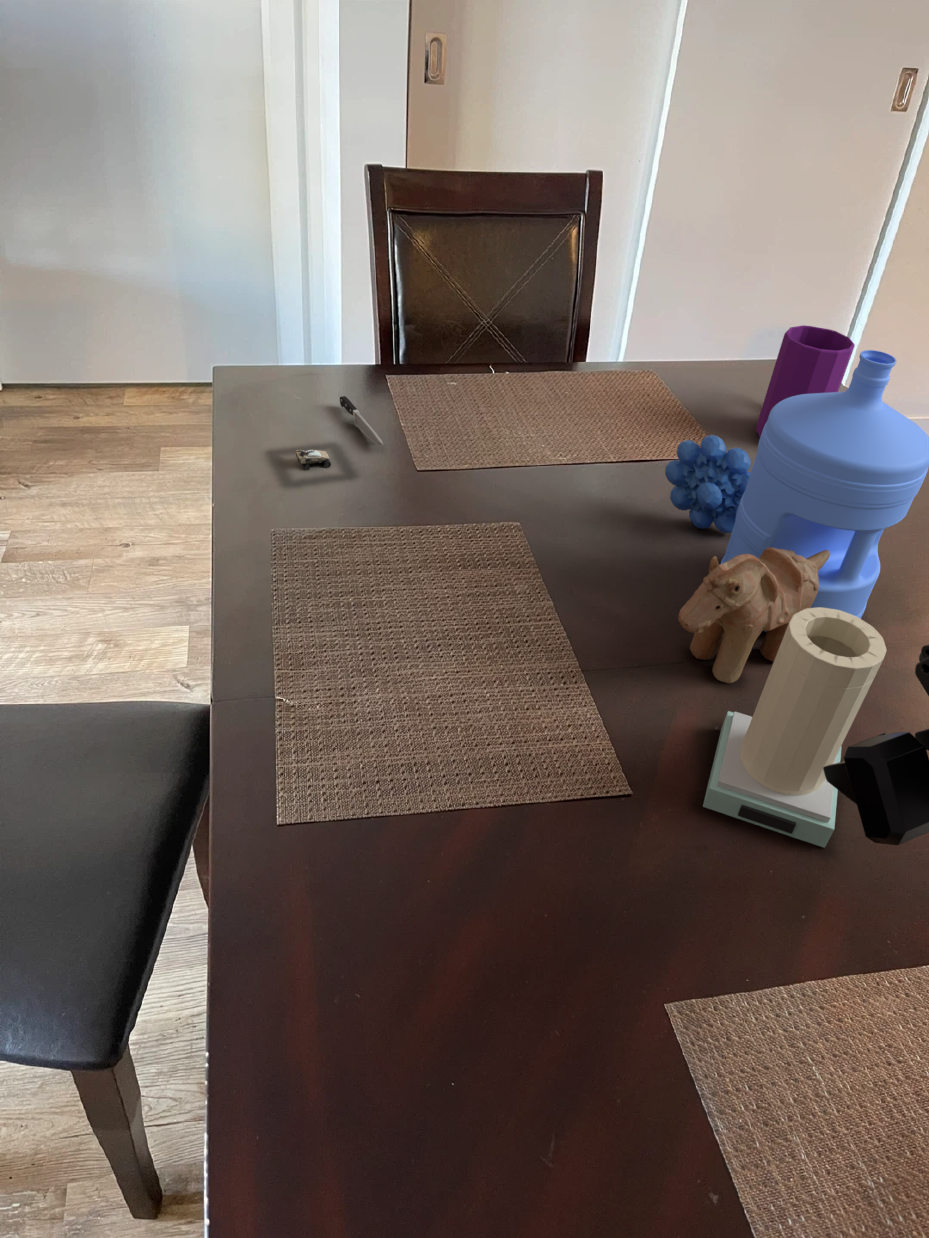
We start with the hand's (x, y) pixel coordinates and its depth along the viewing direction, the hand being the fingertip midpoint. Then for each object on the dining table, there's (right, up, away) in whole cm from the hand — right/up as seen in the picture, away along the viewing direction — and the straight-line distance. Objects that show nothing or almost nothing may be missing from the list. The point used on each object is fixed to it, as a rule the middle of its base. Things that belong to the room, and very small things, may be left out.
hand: (873, 755), depth 67 cm
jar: (-3, -2, +10) cm, 10 cm away
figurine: (-4, +5, +24) cm, 25 cm away
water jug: (+5, +12, +33) cm, 36 cm away
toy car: (-49, +30, +48) cm, 75 cm away
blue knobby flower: (-2, +21, +43) cm, 48 cm away
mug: (+17, +38, +67) cm, 79 cm away
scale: (-4, -4, +12) cm, 13 cm away
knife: (-44, +35, +56) cm, 80 cm away
